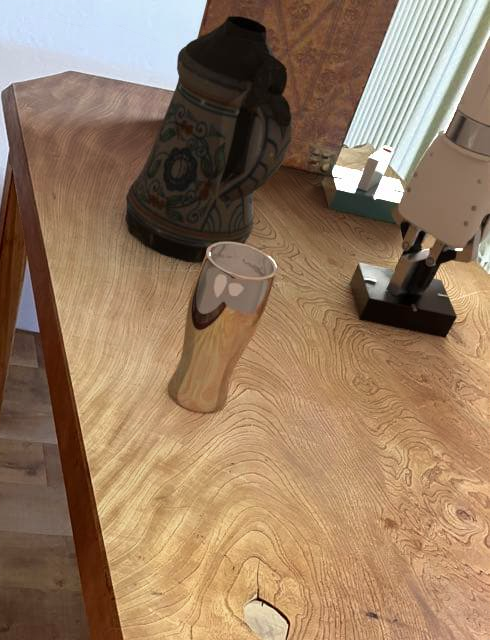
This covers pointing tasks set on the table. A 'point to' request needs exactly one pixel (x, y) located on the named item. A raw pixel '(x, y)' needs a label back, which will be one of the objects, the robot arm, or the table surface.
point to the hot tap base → (401, 303)
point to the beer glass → (220, 322)
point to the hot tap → (406, 271)
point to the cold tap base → (361, 194)
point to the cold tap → (375, 168)
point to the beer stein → (213, 144)
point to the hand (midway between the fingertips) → (408, 285)
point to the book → (316, 64)
